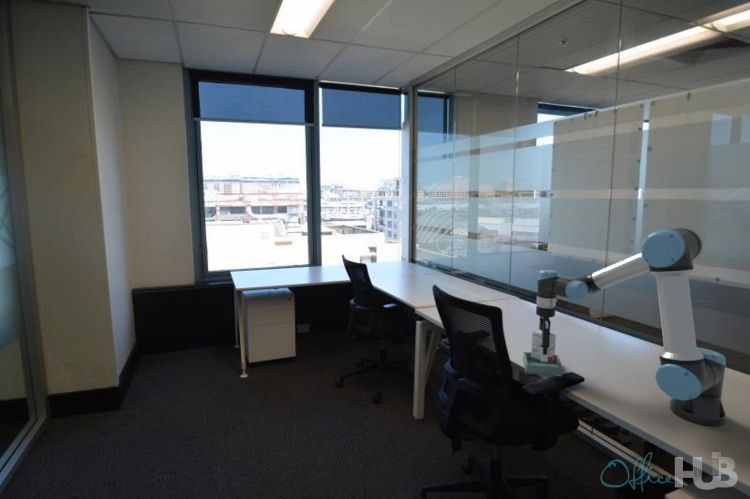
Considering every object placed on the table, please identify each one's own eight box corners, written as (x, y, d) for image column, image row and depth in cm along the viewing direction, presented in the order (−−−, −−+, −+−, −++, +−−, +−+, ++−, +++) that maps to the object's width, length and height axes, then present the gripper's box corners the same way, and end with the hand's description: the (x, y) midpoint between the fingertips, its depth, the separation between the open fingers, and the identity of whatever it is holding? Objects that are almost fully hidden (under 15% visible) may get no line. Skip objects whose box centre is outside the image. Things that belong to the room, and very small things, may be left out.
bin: (562, 377, 169) (563, 368, 169) (525, 373, 173) (526, 364, 173) (557, 363, 183) (557, 355, 183) (523, 360, 187) (523, 351, 186)
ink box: (555, 361, 175) (557, 334, 174) (547, 363, 173) (549, 336, 171) (537, 354, 183) (538, 328, 181) (530, 356, 180) (531, 330, 178)
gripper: (559, 314, 163) (555, 368, 166) (551, 300, 184) (548, 348, 187) (539, 312, 165) (536, 366, 168) (533, 299, 186) (530, 346, 189)
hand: (542, 356), depth 178 cm, fingers closed on ink box, 9 cm apart
